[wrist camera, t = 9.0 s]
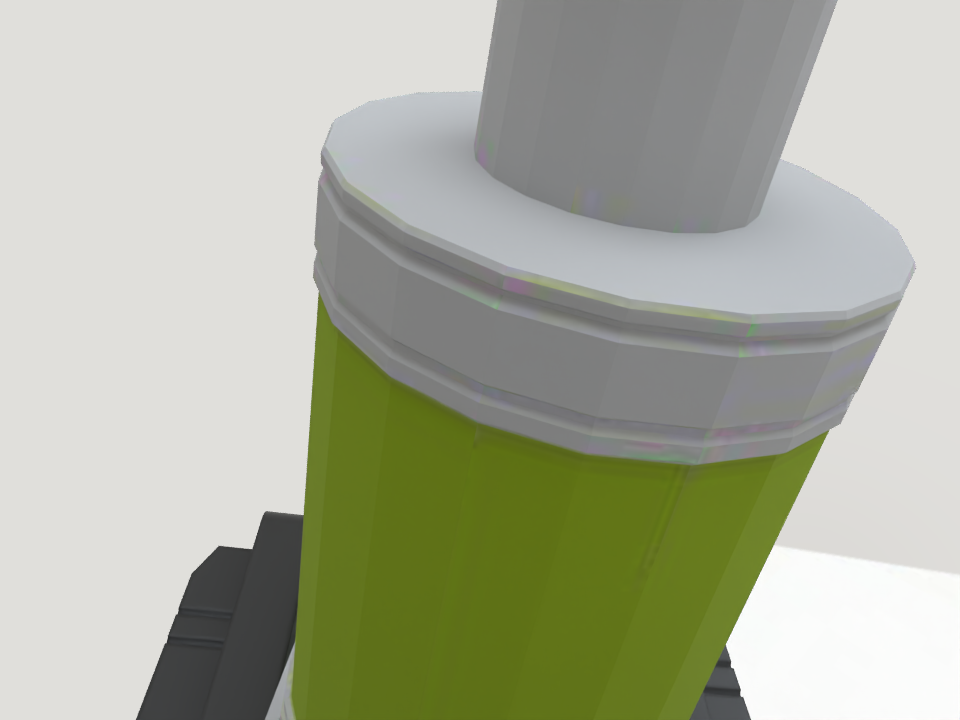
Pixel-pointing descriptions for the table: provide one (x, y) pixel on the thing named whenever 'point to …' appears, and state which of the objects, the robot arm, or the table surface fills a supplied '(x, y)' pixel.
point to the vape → (572, 364)
